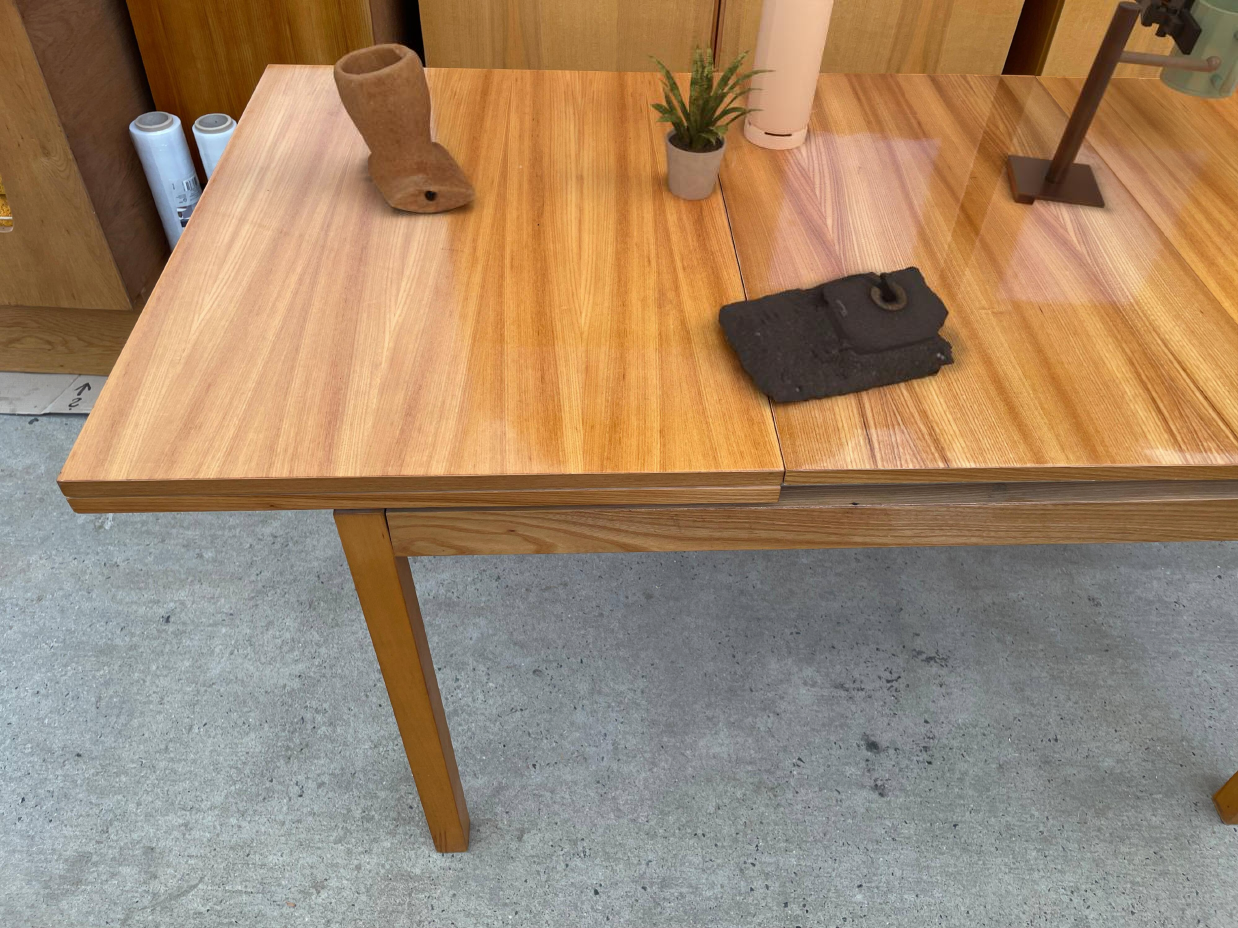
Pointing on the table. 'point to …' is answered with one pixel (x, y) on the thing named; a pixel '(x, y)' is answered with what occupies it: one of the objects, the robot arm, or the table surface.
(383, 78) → the brown clay vessel
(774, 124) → the bottle
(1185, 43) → the robot arm
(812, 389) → the dark brown flat slab
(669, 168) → the house plant
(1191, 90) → the mug
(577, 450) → the table surface
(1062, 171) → the mug stand
